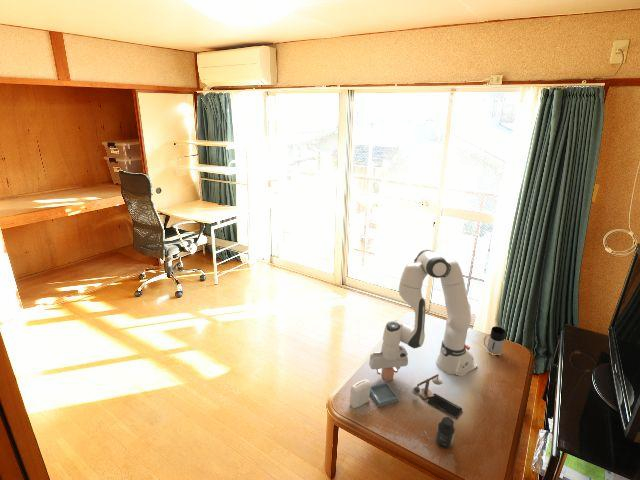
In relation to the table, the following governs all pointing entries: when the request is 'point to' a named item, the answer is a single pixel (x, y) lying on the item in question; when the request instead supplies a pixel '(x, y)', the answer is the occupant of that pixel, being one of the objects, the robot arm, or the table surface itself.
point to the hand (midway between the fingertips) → (387, 372)
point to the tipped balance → (426, 387)
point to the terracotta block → (388, 373)
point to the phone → (445, 406)
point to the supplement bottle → (445, 432)
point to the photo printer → (360, 393)
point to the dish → (383, 394)
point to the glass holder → (495, 340)
